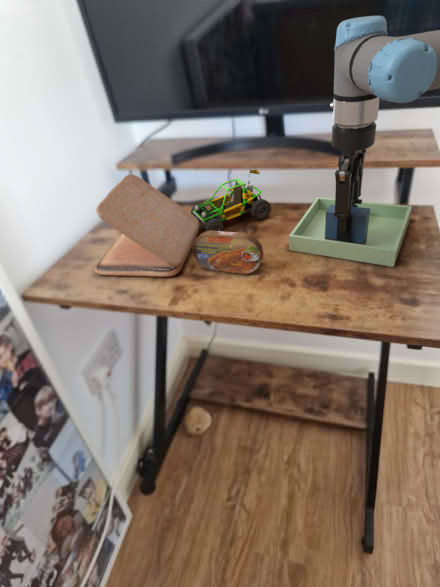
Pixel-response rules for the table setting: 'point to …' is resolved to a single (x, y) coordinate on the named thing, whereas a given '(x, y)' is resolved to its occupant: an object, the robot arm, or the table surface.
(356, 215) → the eraser
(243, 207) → the motor vehicle
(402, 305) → the table surface
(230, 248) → the tin
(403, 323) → the table surface
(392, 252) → the tray
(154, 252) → the case
